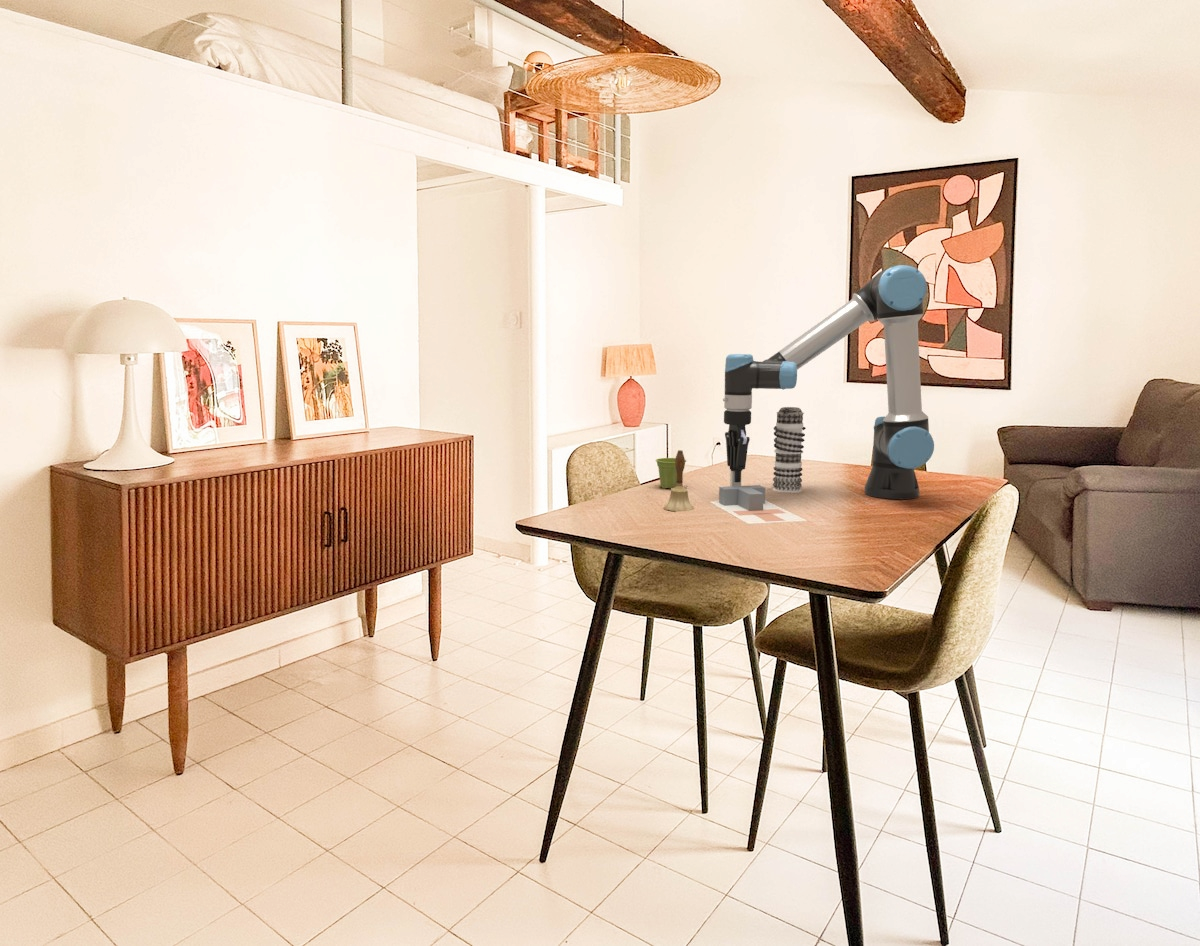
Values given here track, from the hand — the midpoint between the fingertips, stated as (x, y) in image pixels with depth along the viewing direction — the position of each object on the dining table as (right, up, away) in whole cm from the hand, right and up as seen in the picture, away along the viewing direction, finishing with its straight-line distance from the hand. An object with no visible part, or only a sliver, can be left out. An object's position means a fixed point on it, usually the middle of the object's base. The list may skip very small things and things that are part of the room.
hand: (735, 492), depth 236 cm
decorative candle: (+18, 0, +15) cm, 24 cm away
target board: (+3, -5, -14) cm, 15 cm away
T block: (+2, -3, -8) cm, 9 cm away
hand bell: (-17, -4, -10) cm, 20 cm away
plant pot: (-17, +1, +20) cm, 26 cm away
